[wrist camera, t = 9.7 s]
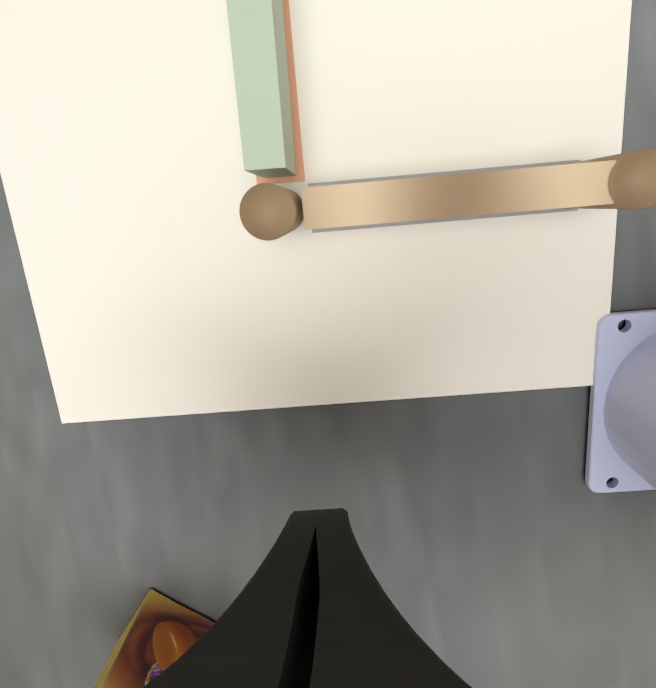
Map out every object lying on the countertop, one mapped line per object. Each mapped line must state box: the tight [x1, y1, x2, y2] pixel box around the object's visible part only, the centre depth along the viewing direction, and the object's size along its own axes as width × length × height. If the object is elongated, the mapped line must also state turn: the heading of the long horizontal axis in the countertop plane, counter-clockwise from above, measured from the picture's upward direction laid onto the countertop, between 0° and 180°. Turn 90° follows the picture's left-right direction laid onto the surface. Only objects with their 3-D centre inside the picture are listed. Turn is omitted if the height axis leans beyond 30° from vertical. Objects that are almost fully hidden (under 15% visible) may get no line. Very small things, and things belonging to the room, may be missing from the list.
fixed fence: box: [239, 149, 656, 241], centre depth 16 cm, size 12×2×5 cm, turn 95°
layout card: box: [0, 0, 632, 423], centre depth 18 cm, size 23×20×1 cm
